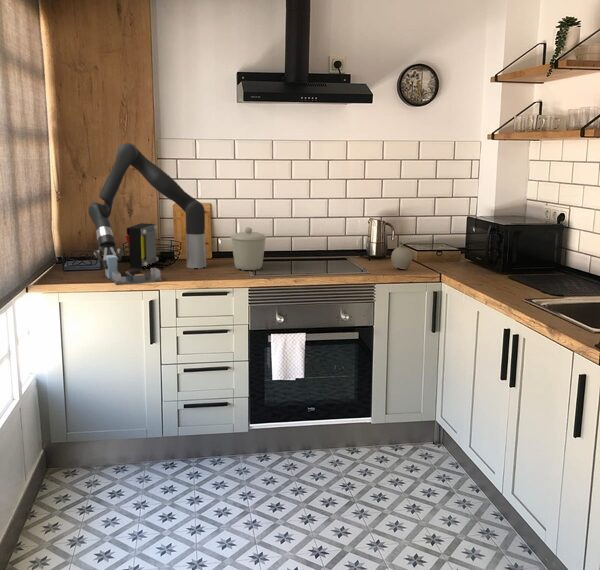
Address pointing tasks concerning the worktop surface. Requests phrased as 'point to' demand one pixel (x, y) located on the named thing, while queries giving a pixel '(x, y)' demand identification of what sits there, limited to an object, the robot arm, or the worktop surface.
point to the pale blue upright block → (111, 265)
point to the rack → (135, 277)
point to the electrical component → (142, 244)
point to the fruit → (401, 257)
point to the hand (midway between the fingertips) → (112, 268)
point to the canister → (248, 249)
